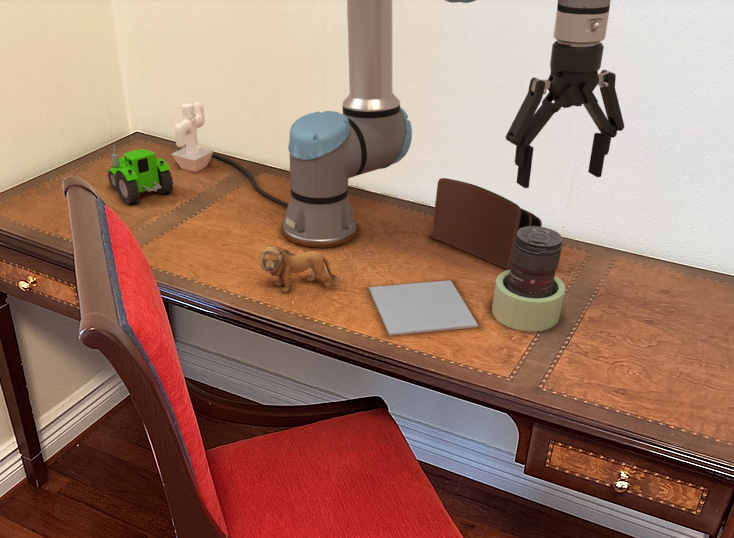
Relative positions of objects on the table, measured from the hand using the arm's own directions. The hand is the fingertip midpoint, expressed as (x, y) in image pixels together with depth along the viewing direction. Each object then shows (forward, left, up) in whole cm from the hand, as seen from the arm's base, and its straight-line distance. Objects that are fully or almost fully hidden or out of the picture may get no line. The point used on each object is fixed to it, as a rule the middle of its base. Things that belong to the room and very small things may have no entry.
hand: (559, 180), depth 132 cm
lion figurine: (-13, -42, -24) cm, 50 cm away
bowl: (+3, -3, -24) cm, 24 cm away
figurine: (-74, -58, -24) cm, 97 cm away
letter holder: (-23, -2, -24) cm, 33 cm away
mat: (-2, -21, -24) cm, 32 cm away
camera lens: (+3, -3, -24) cm, 24 cm away
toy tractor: (-61, -71, -24) cm, 97 cm away
